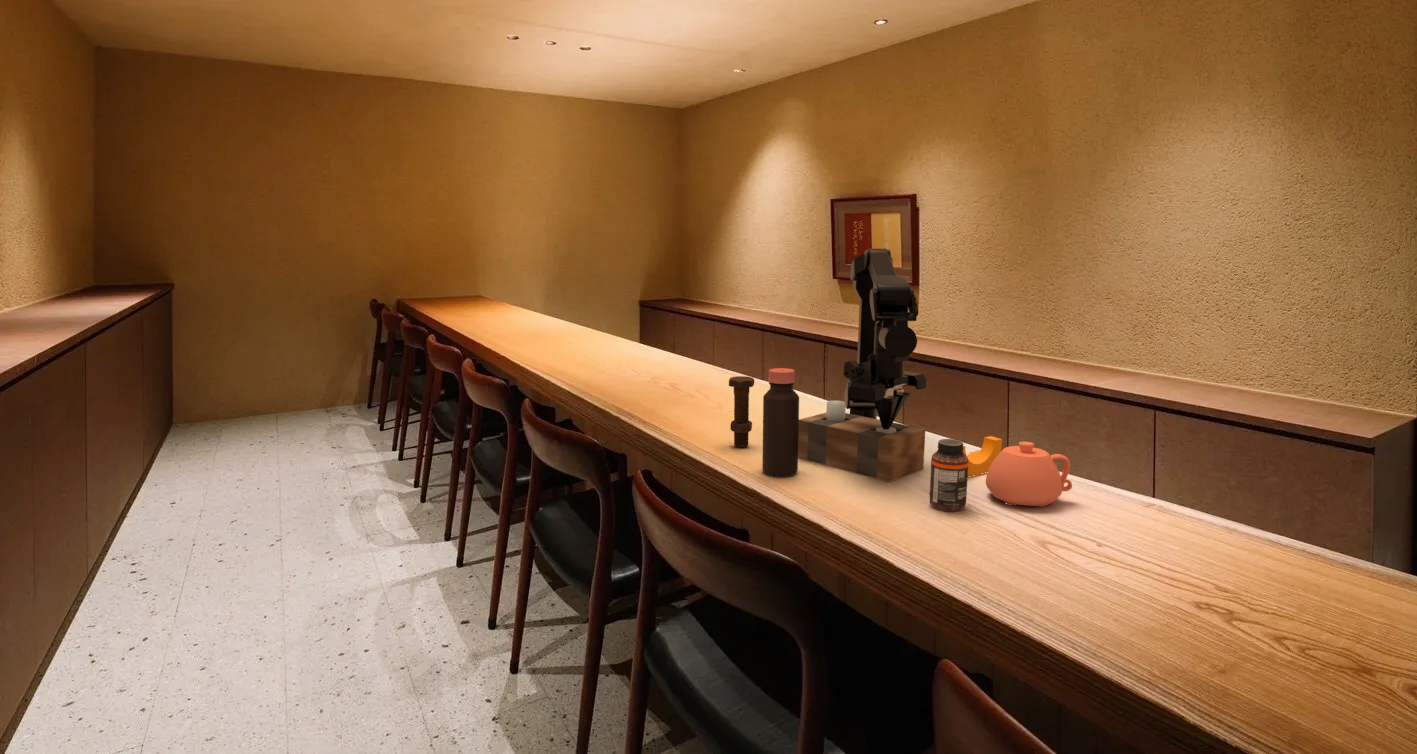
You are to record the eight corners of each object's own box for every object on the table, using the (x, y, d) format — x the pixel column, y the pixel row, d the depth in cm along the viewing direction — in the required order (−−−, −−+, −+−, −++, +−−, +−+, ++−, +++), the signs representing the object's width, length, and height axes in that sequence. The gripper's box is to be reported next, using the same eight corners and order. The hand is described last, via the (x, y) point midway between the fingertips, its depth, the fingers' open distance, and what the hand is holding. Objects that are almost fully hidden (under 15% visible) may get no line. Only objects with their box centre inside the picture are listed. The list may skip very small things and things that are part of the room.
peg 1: (833, 432, 160) (834, 399, 159) (848, 435, 158) (849, 402, 156) (822, 435, 158) (822, 402, 156) (837, 439, 155) (838, 405, 154)
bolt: (750, 450, 163) (751, 381, 160) (727, 449, 164) (727, 380, 161) (754, 443, 169) (755, 376, 166) (731, 442, 170) (732, 375, 167)
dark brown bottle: (769, 465, 153) (771, 366, 149) (802, 469, 150) (804, 368, 146) (757, 474, 147) (758, 371, 143) (790, 479, 144) (792, 374, 140)
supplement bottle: (935, 498, 134) (939, 435, 132) (970, 504, 130) (974, 440, 128) (923, 507, 129) (927, 442, 127) (959, 515, 126) (963, 448, 123)
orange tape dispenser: (981, 465, 153) (983, 434, 152) (999, 471, 149) (1001, 439, 148) (938, 474, 147) (940, 442, 146) (955, 481, 144) (957, 447, 142)
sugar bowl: (979, 486, 140) (982, 432, 138) (1060, 490, 138) (1065, 435, 136) (991, 509, 128) (995, 450, 126) (1081, 515, 126) (1086, 455, 124)
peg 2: (881, 459, 152) (883, 425, 151) (898, 463, 150) (899, 429, 148) (870, 463, 150) (872, 429, 148) (887, 468, 147) (888, 432, 146)
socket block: (832, 446, 166) (833, 410, 165) (923, 468, 150) (925, 428, 149) (797, 457, 158) (797, 419, 156) (889, 482, 142) (890, 440, 141)
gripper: (880, 340, 158) (877, 414, 161) (825, 349, 145) (822, 430, 148) (929, 346, 150) (925, 423, 153) (875, 356, 137) (871, 441, 140)
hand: (885, 429), depth 148 cm, fingers closed, pressing on peg 2
